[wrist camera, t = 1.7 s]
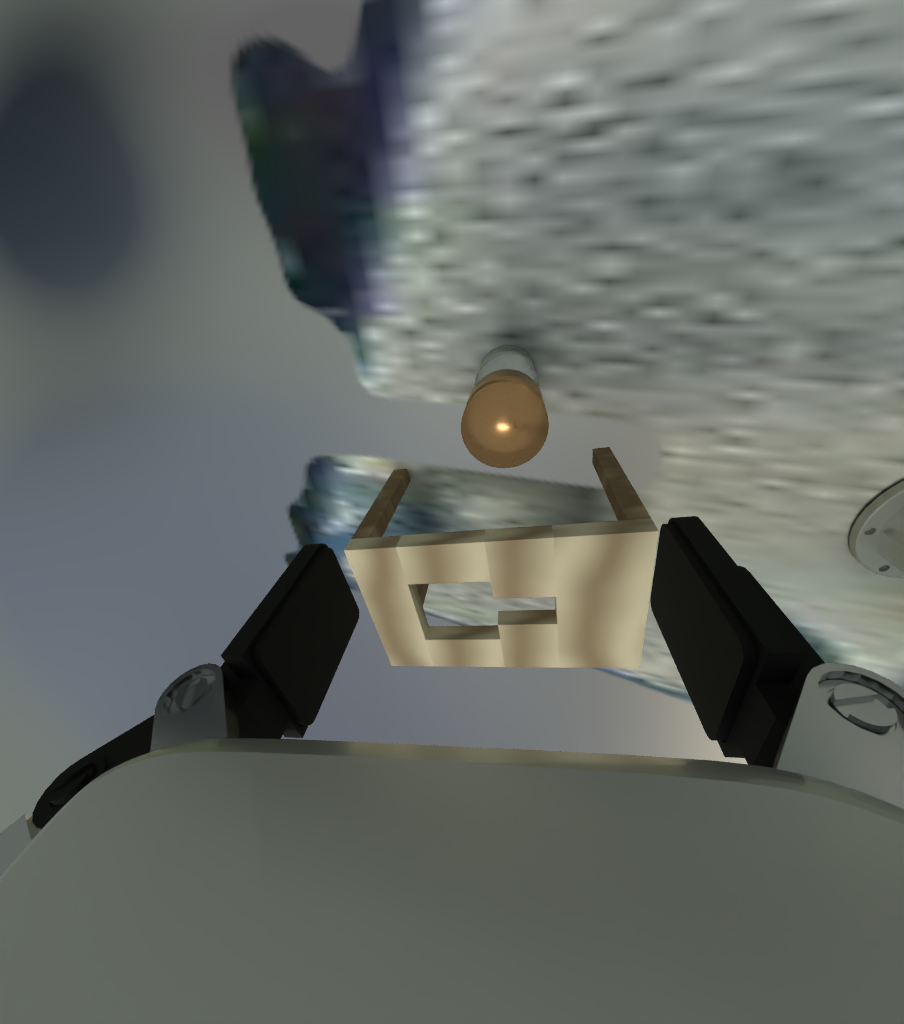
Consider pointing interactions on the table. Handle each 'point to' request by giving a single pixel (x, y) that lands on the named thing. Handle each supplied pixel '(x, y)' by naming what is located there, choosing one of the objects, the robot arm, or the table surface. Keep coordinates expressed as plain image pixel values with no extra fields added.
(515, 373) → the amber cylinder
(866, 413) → the table surface
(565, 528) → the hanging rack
